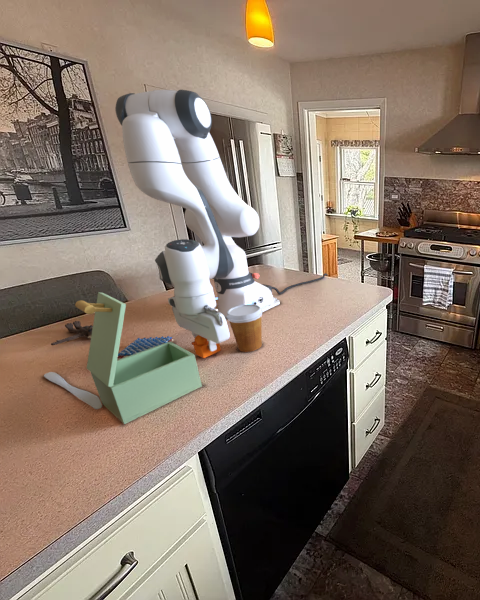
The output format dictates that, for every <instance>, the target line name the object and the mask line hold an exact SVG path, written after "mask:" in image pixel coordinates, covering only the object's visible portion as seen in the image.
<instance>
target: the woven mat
mask: <svg viewBox="0 0 480 600" xmlns="http://www.w3.org/2000/svg"><path fill="white" fill-rule="evenodd" d="M170 341H171V342H172V343H174V341H175V339H173V337H172V336H169V335H168V336H165V337H164V336H160V337H158V336H154V337H152V336H151V337H150V336H149V337H143V338H140V337H137V338H136V339H135V340H133V342H130V343H129V345H127V346H126V347H124V348H123V349H122V350H119V352H118V358H117V360H119V359H122V358H125V357H128V356H130V355H133V354H136V353H139V352H142V351H144V350H147V349H150V348H153V347H156V346H158V345H161V344H164V343H167V342H170Z"/></svg>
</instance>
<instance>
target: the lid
mask: <svg viewBox="0 0 480 600" xmlns="http://www.w3.org/2000/svg"><path fill="white" fill-rule="evenodd" d="M74 306H75V307H76V308H77V309H79V310H80V311H81V312H83V313H85V314H87V315H92V314H94V315H93V316H94V318H93V323H92V326H93V329H92V336H91V338H90V343H89V349H88V355H87V364H86V369H87V370H88V371H89V372H90V374H91V373H93V374H94V375H95V376H96V377H97V378H98V379H100V380H101V381H102V382H103V383H104V384H105V385H106V386H108V387H111V386H113V383H114V377H115V370H116V364H117V360H118V359H117V358H118V357H119V356H118V353H120V345H121V338H122V332H123V326H124V319H125V314H126V307H127V304H126V303H125V302H122V301H120V300H118V299H116V298H115V297H112V296H110V295H108V294H107V293H104V292H97V297H96V303H95V302H87V301H85V300H81V299H80V300H77V301H76V302H75V304H74Z"/></svg>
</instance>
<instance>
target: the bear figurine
mask: <svg viewBox="0 0 480 600" xmlns="http://www.w3.org/2000/svg"><path fill="white" fill-rule="evenodd" d="M64 327H65V328H66V329H67V331H68V333H69V332H70V333H75V334H73V335H70V336H68V337H65V338H62V339H56V340H55V341H53V342H51V343H50V345H51V346H56V345H60V344H63V343H67V342H70V341H72V340H75V339H79V338H81V337H86V339H91V336H92V329H93V324H90V325H84V326H82V325H81V321H80V320H75V321H73V322H68V323H65V325H64Z"/></svg>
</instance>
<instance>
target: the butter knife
mask: <svg viewBox="0 0 480 600" xmlns="http://www.w3.org/2000/svg"><path fill="white" fill-rule="evenodd" d="M43 377H44V378H45V379H47V380H48V381H50V382H52V383H54V384H56V385H58V386H60V387H62V388H64V389H65V390H66V391H68V392H70V393H71V394H72V395H73V396H75V397H76V398H77V399H79V400H81V401H82V402H84V403H85V404H87V405H89V406H90V407H92V408H93V410H101V408H103V404H102V401H101V399H100V396H99V395H98V396H97V395H96V394H94V393H92V392H90V391H87V390H84V389H80V388H78V387H75V386H73V385H71V384H69V383H68V382H67V381H66V380H65V379H64V377H62V376H61V375H60V374H59V373H57V372H54V371H49V372H46V373H44V375H43Z"/></svg>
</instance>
